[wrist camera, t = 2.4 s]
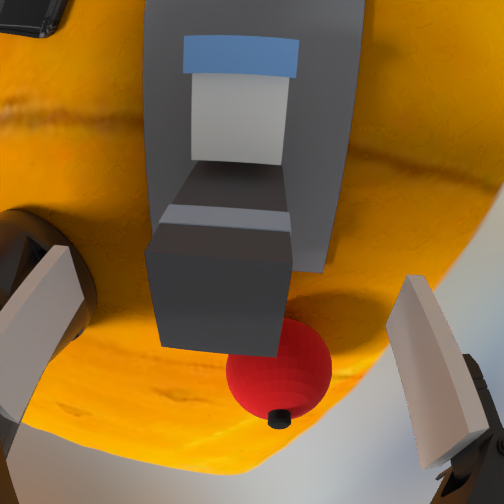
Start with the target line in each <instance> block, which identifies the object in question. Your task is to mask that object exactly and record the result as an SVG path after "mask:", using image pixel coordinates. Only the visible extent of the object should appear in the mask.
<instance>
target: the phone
mask: <svg viewBox="0 0 504 504" xmlns="http://www.w3.org/2000/svg"><path fill="white" fill-rule="evenodd" d="M67 1H68V0H0V33H7V34H14V35H21V36H27V37H33V38H47V37H49V36H51V35H52V34H53V33H54V32H55V31H56V29H57V27H58V25H59V22H60V19H61V17H62V14H63V11H64V9H65V6H66V4H67Z"/></svg>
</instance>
